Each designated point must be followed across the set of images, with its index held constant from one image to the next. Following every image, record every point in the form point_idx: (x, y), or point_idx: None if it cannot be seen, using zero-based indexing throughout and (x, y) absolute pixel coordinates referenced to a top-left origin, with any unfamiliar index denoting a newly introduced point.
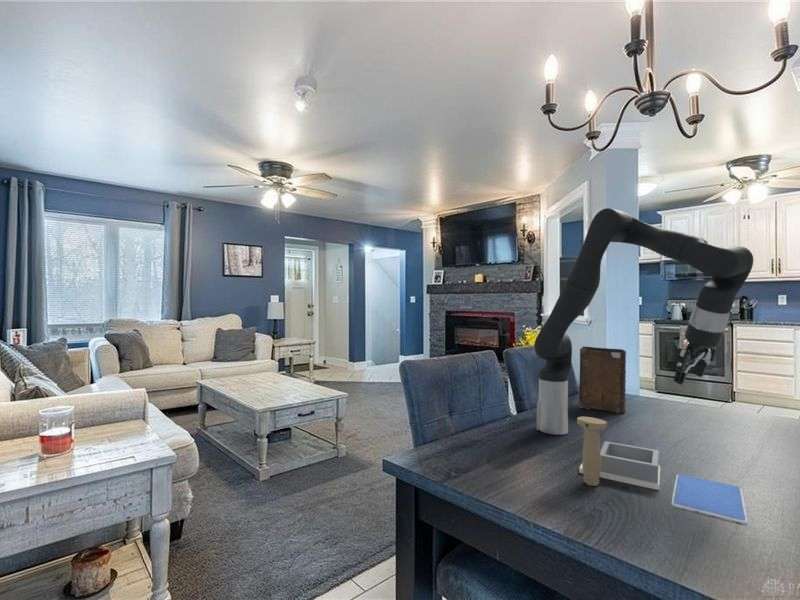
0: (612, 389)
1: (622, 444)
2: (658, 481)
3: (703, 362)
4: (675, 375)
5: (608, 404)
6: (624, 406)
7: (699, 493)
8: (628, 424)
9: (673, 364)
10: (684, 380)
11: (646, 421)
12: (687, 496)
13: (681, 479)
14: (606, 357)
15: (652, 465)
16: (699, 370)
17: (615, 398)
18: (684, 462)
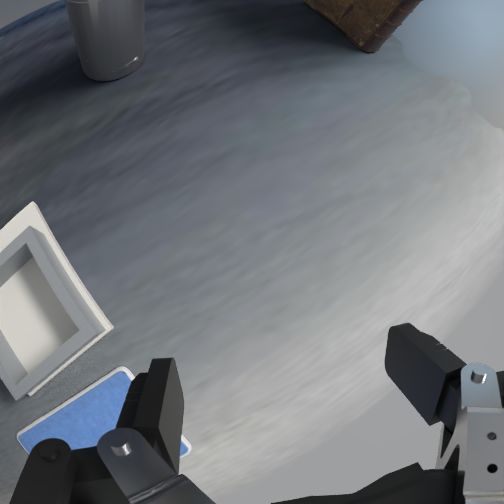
0: (373, 8)
1: (46, 262)
2: (39, 386)
3: (449, 416)
4: (125, 401)
5: (352, 25)
6: (377, 45)
7: (84, 440)
8: (325, 86)
9: (27, 471)
10: (181, 423)
11: (376, 95)
12: (55, 436)
13: (103, 390)
14: None
15: (10, 392)
16: (406, 373)
17: (369, 24)
18: (220, 310)
